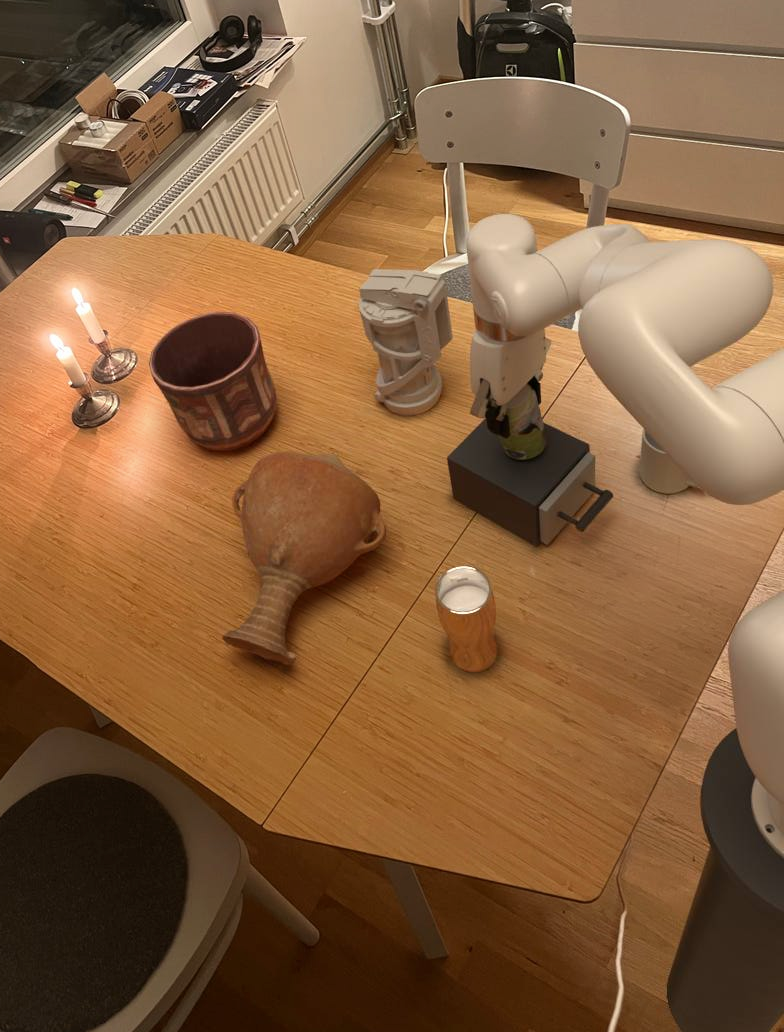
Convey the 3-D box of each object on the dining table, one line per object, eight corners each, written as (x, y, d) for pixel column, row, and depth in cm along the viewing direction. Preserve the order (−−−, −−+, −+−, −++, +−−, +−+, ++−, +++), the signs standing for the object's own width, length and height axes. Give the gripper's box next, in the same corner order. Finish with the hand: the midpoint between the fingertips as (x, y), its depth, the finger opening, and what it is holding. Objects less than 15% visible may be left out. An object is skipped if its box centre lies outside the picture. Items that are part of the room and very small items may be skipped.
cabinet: (589, 487, 130) (589, 444, 123) (537, 547, 126) (534, 505, 119) (504, 444, 139) (501, 401, 132) (453, 499, 134) (446, 457, 127)
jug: (419, 464, 124) (352, 671, 110) (364, 505, 141) (300, 690, 127) (291, 398, 121) (204, 602, 107) (249, 448, 138) (170, 630, 124)
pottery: (251, 477, 146) (219, 401, 133) (165, 450, 154) (127, 375, 141) (304, 400, 155) (279, 321, 141) (221, 378, 163) (190, 301, 150)
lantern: (369, 408, 150) (340, 292, 132) (398, 365, 155) (374, 247, 137) (440, 428, 144) (420, 309, 126) (468, 383, 149) (453, 262, 131)
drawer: (621, 504, 126) (623, 469, 120) (574, 560, 122) (574, 527, 116) (515, 449, 136) (512, 415, 131) (468, 500, 132) (463, 466, 127)
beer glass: (437, 641, 120) (423, 579, 109) (484, 618, 120) (474, 554, 109) (462, 684, 115) (450, 625, 104) (511, 660, 116) (504, 598, 105)
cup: (659, 447, 132) (664, 405, 126) (723, 482, 126) (731, 440, 120) (628, 477, 130) (631, 436, 123) (691, 514, 124) (697, 473, 117)
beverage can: (556, 442, 125) (553, 378, 116) (524, 476, 122) (519, 413, 113) (517, 424, 128) (512, 361, 120) (486, 457, 125) (478, 395, 117)
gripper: (523, 263, 112) (529, 366, 125) (435, 346, 106) (451, 446, 119) (576, 282, 108) (577, 387, 121) (487, 370, 102) (498, 471, 115)
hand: (514, 415), depth 120 cm, fingers closed on beverage can, 6 cm apart
